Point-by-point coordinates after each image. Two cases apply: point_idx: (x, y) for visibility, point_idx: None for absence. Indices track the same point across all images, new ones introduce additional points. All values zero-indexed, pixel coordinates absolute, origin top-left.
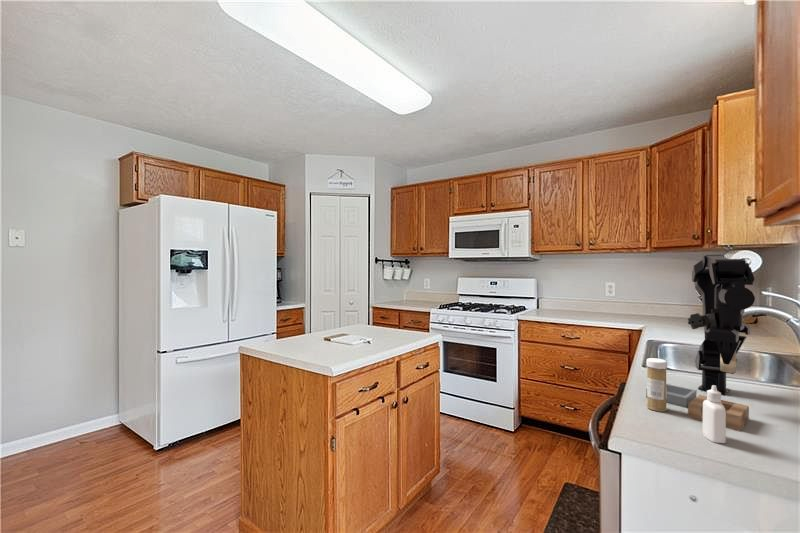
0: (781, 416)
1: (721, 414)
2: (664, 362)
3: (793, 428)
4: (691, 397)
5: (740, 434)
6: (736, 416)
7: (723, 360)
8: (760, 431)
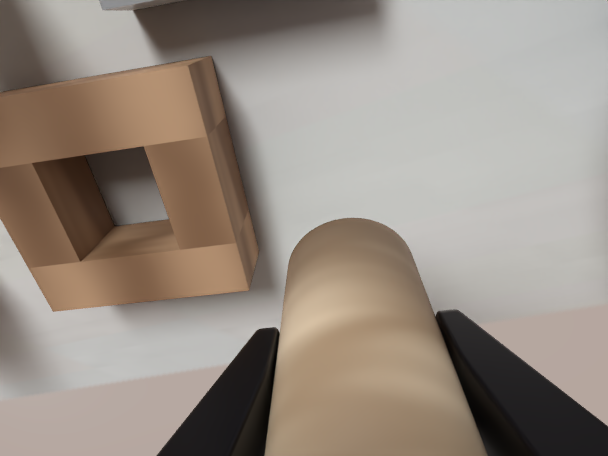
0: (431, 303)
1: None
2: None
3: None
4: None
5: None
6: (48, 299)
7: (241, 361)
8: (166, 305)
